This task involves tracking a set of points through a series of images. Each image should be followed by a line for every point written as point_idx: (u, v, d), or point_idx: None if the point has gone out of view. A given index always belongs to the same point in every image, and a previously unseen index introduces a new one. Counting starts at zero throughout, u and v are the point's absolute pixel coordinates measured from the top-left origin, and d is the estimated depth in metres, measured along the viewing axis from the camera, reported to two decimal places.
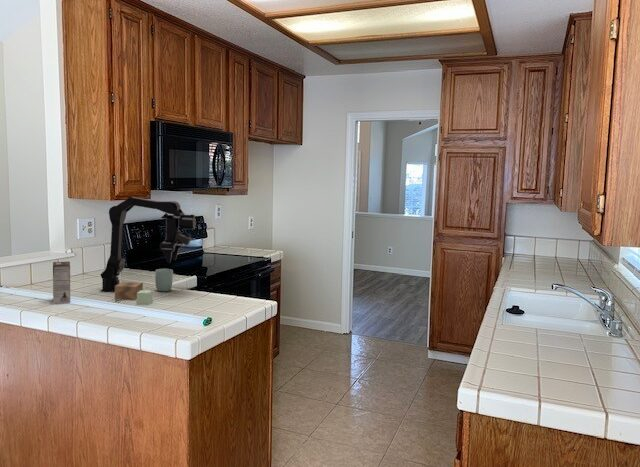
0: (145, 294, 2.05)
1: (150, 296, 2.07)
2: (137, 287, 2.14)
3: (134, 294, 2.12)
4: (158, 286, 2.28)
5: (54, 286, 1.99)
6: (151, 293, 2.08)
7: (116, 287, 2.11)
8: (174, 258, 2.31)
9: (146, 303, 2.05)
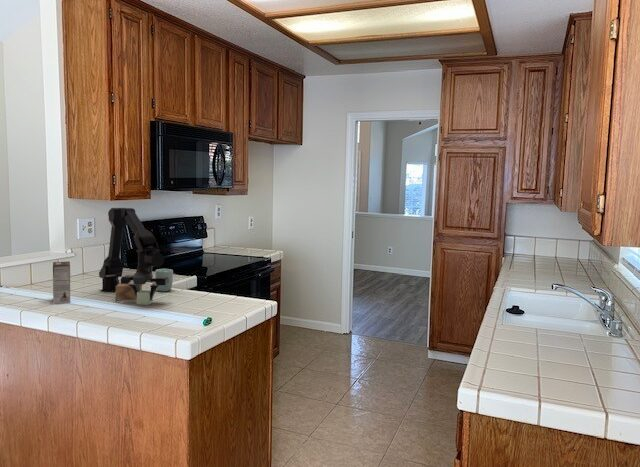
0: (145, 294, 2.05)
1: None
2: None
3: (135, 294, 2.12)
4: (158, 286, 2.28)
5: (53, 286, 1.99)
6: None
7: (117, 287, 2.11)
8: None
9: (146, 303, 2.05)
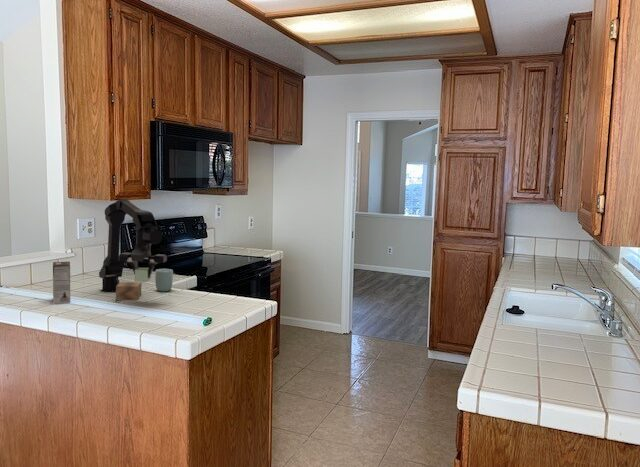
0: (143, 271, 2.05)
1: None
2: (138, 287, 2.14)
3: (136, 294, 2.12)
4: (158, 286, 2.28)
5: (54, 286, 1.99)
6: None
7: (117, 287, 2.11)
8: None
9: (144, 280, 2.05)
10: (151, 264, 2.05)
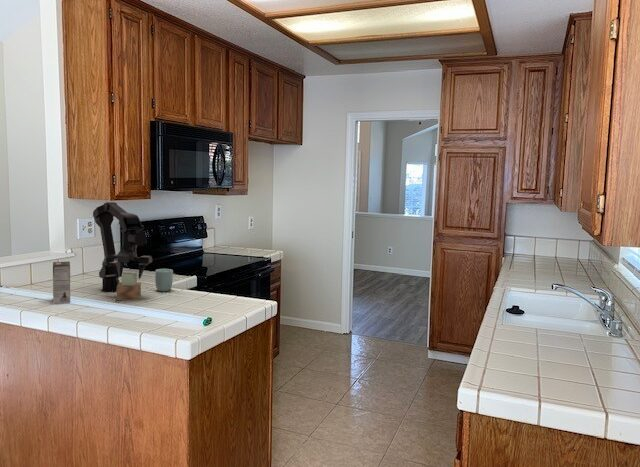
0: (130, 275, 2.13)
1: (134, 277, 2.15)
2: (139, 287, 2.15)
3: (137, 294, 2.13)
4: (158, 286, 2.28)
5: (53, 286, 1.99)
6: (135, 275, 2.17)
7: (118, 287, 2.11)
8: None
9: (131, 284, 2.13)
10: (141, 265, 2.13)
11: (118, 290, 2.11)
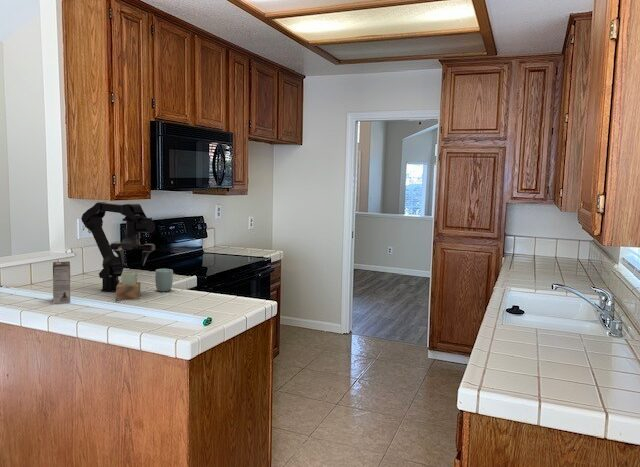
0: (130, 275, 2.13)
1: (135, 277, 2.16)
2: (138, 287, 2.15)
3: (137, 294, 2.13)
4: (158, 286, 2.28)
5: (54, 286, 1.99)
6: (136, 275, 2.17)
7: (118, 288, 2.10)
8: None
9: (131, 284, 2.14)
10: (144, 253, 2.19)
11: (118, 290, 2.11)
